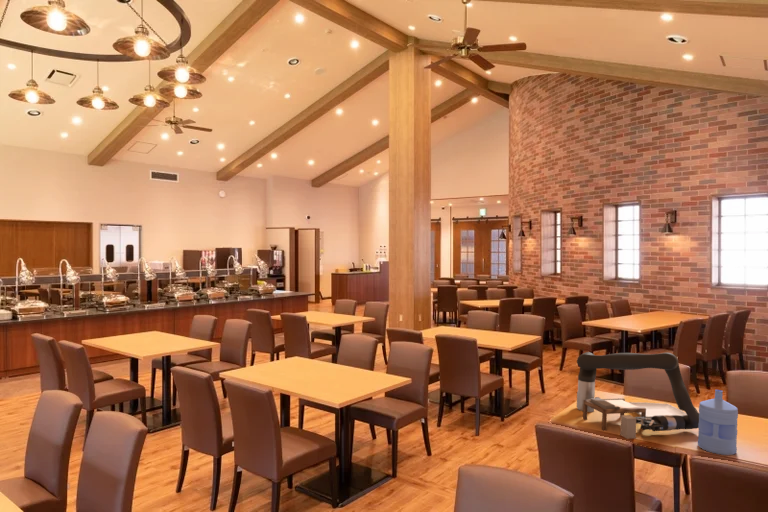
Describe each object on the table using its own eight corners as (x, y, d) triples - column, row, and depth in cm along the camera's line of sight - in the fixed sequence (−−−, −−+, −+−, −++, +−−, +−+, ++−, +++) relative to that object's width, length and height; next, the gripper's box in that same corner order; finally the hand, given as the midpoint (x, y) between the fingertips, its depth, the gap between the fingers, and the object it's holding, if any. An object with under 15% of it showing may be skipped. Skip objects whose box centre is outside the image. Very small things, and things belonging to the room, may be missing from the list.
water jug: (700, 440, 259) (702, 384, 259) (738, 448, 249) (740, 390, 249) (694, 449, 247) (696, 390, 247) (734, 458, 237) (736, 397, 237)
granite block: (620, 435, 264) (620, 415, 264) (629, 434, 265) (629, 415, 265) (626, 438, 260) (627, 418, 259) (635, 438, 260) (636, 418, 260)
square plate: (694, 424, 285) (694, 417, 285) (643, 422, 286) (643, 415, 286) (668, 408, 312) (668, 402, 312) (622, 407, 313) (622, 401, 313)
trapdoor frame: (603, 430, 271) (604, 408, 270) (583, 418, 289) (583, 397, 289) (645, 428, 275) (646, 406, 275) (622, 416, 294) (623, 396, 293)
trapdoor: (605, 413, 273) (606, 405, 273) (590, 405, 287) (590, 398, 287) (638, 412, 277) (638, 404, 277) (621, 404, 291) (621, 396, 291)
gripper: (654, 411, 273) (626, 412, 270) (674, 420, 260) (645, 421, 256) (653, 425, 274) (626, 426, 270) (673, 435, 260) (645, 436, 256)
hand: (635, 424), depth 263 cm, fingers open, 8 cm apart
